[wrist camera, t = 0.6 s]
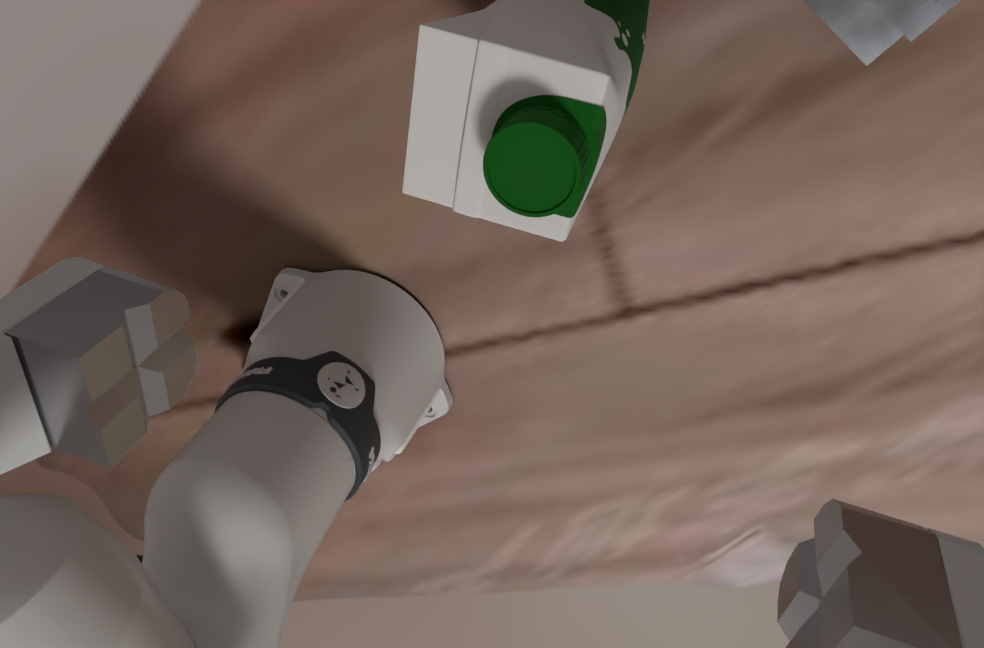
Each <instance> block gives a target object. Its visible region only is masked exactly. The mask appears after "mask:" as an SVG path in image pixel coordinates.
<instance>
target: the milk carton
mask: <svg viewBox="0 0 984 648" xmlns="http://www.w3.org/2000/svg"><path fill="white" fill-rule="evenodd" d="M648 7H649V0H497V1H495V2H494V3H492V4H491V5H489V6H488V7H486V8H485V9H483V10H480V11H476V12H472V13H468V14H464V15H460V16H456V17H452V18H448V19H443V20H439V21H435V22H431V23H426V24H421V25H420V27H419V36H418V46H417V55H416V65H415V75H414V84H413V94H412V104H411V113H410V123H409V132H408V142H407V152H406V161H405V171H404V180H403V191H402V192H403V193H405V194H408V195H411V196H415V197H418V198H421V199H425V200H428V201H431V202H435V203H438V204H441V205H445V206H448V207H451V208H453V211H455V212H457V213H460V214H464V215H467V216H470V217H475V218H481V219H485V220H488V221H491V222H495V223H498V224H502V225H505V226H509V227H512V228H516V229H519V230H523V231H526V232H530V233H533V234H537V235H540V236H544V237H547V238H551V239H554V240H558V241H561V242H562V241H564V240H566V238H567V236H568V234H569V232H570V230H571V228H572V225H573V223H574V221H575V219H576V217H577V215H578V213H579V211H580V209H581V206H582V204H583V202H584V200H585V198H586V196H587V194H588V192H589V190H590V188H591V186H592V184H593V182H594V180H595V177H596V175H597V173H598V171H599V169H600V167H601V165H602V163H603V161H604V159H605V157H606V154H607V152H608V150H609V148H610V146H611V144H612V141H613V139H614V137H615V135H616V132H617V130H618V128H619V126H620V123H621V121H622V119H623V117H624V114H625V112H626V110H627V107H628V105H629V102H630V100H631V97H632V94H633V91H634V88H635V84H636V81H637V77H638V72H639V67H640V63H641V60H642V56H643V51H644V44H645V35H646V26H647V16H648Z"/></svg>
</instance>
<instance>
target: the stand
mask: <svg viewBox="0 0 984 648" xmlns="http://www.w3.org/2000/svg"><path fill="white" fill-rule="evenodd" d="M803 1H804V2H805V3H806V4H807V5H808V6H809V7H810V8H811V9H812V10H813V11H814V12H815V13H816V14H817V15H818V16H819V17H820V18H821V19H822V20H823V21H824V22H825V23H826V25H827V26H828V27H829V28H830V29H831V30H832V31H833V32H834V33H835V34H836V35H837V36H838V37H839V38H840V39H841V40H842V41H843V42H844V43H845V44H846V45H847V46H848V47H849V48H850V49H851V50H852V51H853V52H854V54H855V55H856V56H857V57H858V58H859V59H860V60H861V61H862V62H863V63H864V64H865V65H866V66H867V65H869V64H870V63H871V62H872V61H873V60H874V59H876V58H877V57H878V56H879V55H880V54H882V53H883V52H884V51H885V50H886V49H887V48H889V47H890V46H891V45H892V44H893V43H895V42H896V41H897V40H898V39H899V38H900V37H902V36H903V35H905V36H906V37H907V38H908V40H909V41H910V42H911V41H912V40H914V39H915V38H916V37H917V36H918V35H920V34H921V33H922V32H923V31H924V30H926V29H927V28H928V27H929V26H930V25H932V24H933V23H934V22H935V21H936V20H938V19H939V18H940V17H941V16H942V15H944V14H945V13H946V12H947V11H948V10H950V9H951V8H952V7H953V6H954V5H956V4H957V3H958V2H959V1H960V0H803Z"/></svg>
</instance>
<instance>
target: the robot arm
mask: <svg viewBox="0 0 984 648" xmlns="http://www.w3.org/2000/svg"><path fill="white" fill-rule="evenodd" d="M284 290H285V291H286V292H287V293H288V294H287V293H286V292H285V291H284ZM189 318H190V312H189V307H188V302H187V298H186V296H185V295H183V294H182V293H180V292H179V291H177V290H175V289H172V288H169V287H166V286H164V285H161V284H158V283H155V282H152V281H149V280H146V279H143V278H141V277H138V276H135V275H132V274H129V273H126V272H123V271H120V270H118V269H115V268H109V267H106V266H103V265H100V264H98V263H95V262H92V261H89V260H86V259H84V258H81V257H77V258H67V259H63V260H62V261H60V262H59V263H57V264H55V265H54V266H52V267H51V268H49V269H47V270H46V271H44V272H43V273H41V274H39V275H38V276H36V277H34V278H33V279H31V280H30V281H28V282H26V283H25V284H23V285H22V286H20V287H18V288H17V289H15V290H14V291H12V292H10V293H9V294H7V295H5V296H4V297H2V298H1V299H0V474H3V473H5V472H7V471H9V470H12V469H14V468H16V467H18V466H20V465H22V464H24V463H27V462H29V461H31V460H34V459H36V458H38V457H40V456H43V455H45V454H47V453H49V452H51V451H52V450H51V448H53V449H56V450H59V451H62V452H65V453H68V454H71V455H74V456H77V457H80V458H83V459H86V460H89V461H92V462H95V463H98V464H101V465H104V466H107V467H109V468H111V467H112V466H113V465H114V464H115V463H116V462H117V461H118V460H119V459H120V458H121V457H122V456H123V455H124V454H125V453H126V452H127V451H128V450H129V449H130V448H131V447H132V446H133V445H134V444H135V443H136V442H137V441H138V440H139V439H140V438H141V437H142V436H143V435H145V434H146V433H147V424H148V417H150V416H152V415H155V414H158V413H161V412H164V411H166V410H169V409H171V408H172V407H173V406H174V405H175V404H176V402H177V401H178V400H179V399H180V398H181V397H182V396H183V395H184V394H185V392H186V390H187V388H188V386H189V384H190V382H191V380H192V378H193V376H194V373H195V366H196V359H197V358H196V350H195V344H194V342H193V341H192V340H191V338H190V337H189V335H188V334H187V333H186V331H185V330H184V329H183V326H184V324H185V323H186V322H187V321H188V320H189ZM250 340H251V342H252V344H251V346H250V349H249V351H248V354H247V358H246V362H245V365H244V368H243V371H242V374H240V375H239V376H238V377H237V378H236V379H235V380H234V381H233V382H232V383H231V384H230V385H229V387H228V388H227V389H226V391H225V393H224V395H223V396H222V397H221V398H220V400H219V402H218V403H217V406H216V409H215V413H214V414H213V416H212V417H211V418H210V419H209V420H208V421H207V422H206V423H205V424H204V425H203V426H202V428H201V429H200V430H199V431H198V432H197V433H196V434H195V435H194V436H193V437H192V438H191V440H190V441H189V442H188V443H187V444H186V445H185V446H184V447H183V448H182V449H181V450H180V452H179V453H178V454H177V455H176V456H175V457H174V458H173V459H172V460H171V461H170V462H169V464H168V465H167V466H166V467H165V468H164V469H163V470H162V471H161V473H160V474H159V476H158V477H157V479H156V481H155V483H154V485H153V486H152V489H151V491H150V494H149V497H148V500H147V505H146V511H145V520H144V544H145V545H144V555H143V560H142V564H141V562H140V561H139V559H138V558H137V556H136V555H135V554H134V553H133V552H132V551H131V550H130V549H129V548H128V547H127V546H125V545H124V544H123V543H122V542H121V541H120V540H119V539H118V538H117V537H115V536H114V535H113V534H112V533H111V532H110V531H109V530H108V529H106V528H105V527H104V526H103V525H102V524H100V523H99V522H98V521H97V520H95V519H94V518H93V517H92V516H90V515H89V514H88V513H86V512H85V511H84V510H83V509H82V508H80V507H79V506H78V505H77V504H75V503H74V502H73V501H71V500H70V499H68V498H66V497H64V496H60V495H56V494H51V493H21V494H11V495H5V496H0V648H279V644H280V641H281V637H282V634H283V630H284V627H285V623H286V620H287V616H288V613H289V610H290V608H291V605H292V602H293V599H294V596H295V593H296V591H297V588H298V586H299V583H300V581H301V579H302V576H303V574H304V572H305V570H306V568H307V566H308V564H309V562H310V560H311V558H312V557H313V555H314V553H315V551H316V549H317V548H318V546H319V544H320V542H321V541H322V539H323V537H324V535H325V534H326V532H327V530H328V528H329V527H330V525H331V523H332V521H333V520H334V518H335V516H336V515H337V513H338V511H339V509H340V508H341V506H342V504H343V502H345V501H347V500H348V499H350V498H351V497H352V496H353V495H354V494H355V493H356V491H357V490H358V489H359V487H361V485H362V484H363V482H365V480H366V479H367V477H368V476H369V474H370V472H372V471H373V470H374V469H376V468H377V466H378V465H379V464H380V463H381V461H382V460H384V461H386V462H388V461H390V460H391V459H392V458H393V457H394V456H395V455H396V454H399V453H401V452H402V451H403V449H404V448H405V447H406V445H407V444H408V442H409V440H410V439H411V437H412V436H413V434H414V433H415V431H416V430H417V428H418V427H420V426H422V425H424V424H426V423H428V422H430V421H432V420H434V419H436V418H438V417H440V416H442V415H444V414H446V413H447V412H448V410H449V409H450V408H451V406H452V404H453V399H452V395H451V392H450V390H449V387H448V385H447V383H446V381H445V377H444V362H445V357H444V349H443V344H442V341H441V338H440V335H439V333H438V330H437V328H436V326H435V325H434V323H433V321H432V320H431V318H430V317H429V315H428V314H427V313H426V311H425V310H424V309H423V308H422V307H421V306H420V305H419V303H418V302H416V301H415V300H414V299H413V298H412V297H411V296H410V295H409V294H407V293H406V292H405V291H403V290H402V289H401V288H399V287H398V286H396V285H394V284H393V283H391V282H389V281H387V280H385V279H383V278H380V277H378V276H375V275H372V274H369V273H365V272H361V271H355V270H334V271H328V272H321V273H312V272H309V271H305V270H300V269H296V268H284V269H282V270H281V271H280V272H279V274H278V275H277V276H276V278H275V280H274V283H273V286H272V288H271V291H270V294H269V297H268V300H267V303H266V305H265V308H264V311H263V314H262V317H261V320H260V322H259V325H258V328H257V329H256V330H255V332H254V333H253V334H252V336H251V337H250ZM814 532H815V538H813V539H810V540H807V541H804V542H801V543H799V544H798V545H797V546H796V548H795V550H794V551H793V553H792V555H791V556H790V558H789V560H788V561H787V564H786V567H785V570H784V573H783V577H782V580H781V583H780V589H779V597H778V623H779V625H780V626H781V628H782V630H783V631H784V633H785V635H786V636H787V638H788V639H789V641H790V642H789V644H788V645H787V647H786V648H984V549H983V547H982V546H981V545H980V544H979V543H976V542H973V541H969V540H966V539H963V538H959V537H956V536H953V535H950V534H946V533H943V532H940V531H936V530H933V529H930V528H929V529H925V528H924V527H922V526H919V525H915V524H912V523H909V522H906V521H903V520H899V519H896V518H893V517H890V516H886V515H883V514H880V513H877V512H874V511H870V510H867V509H864V508H861V507H857V506H854V505H851V504H848V503H845V502H841V501H838V500H835V499H832V500H830V501H829V502H827V503H826V504H825V505H823V507H822V508H821V510H820V511H819V513H818V514H817V516H816V517H815V519H814Z"/></svg>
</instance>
